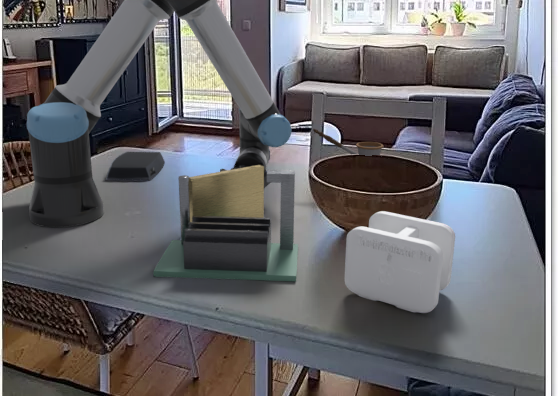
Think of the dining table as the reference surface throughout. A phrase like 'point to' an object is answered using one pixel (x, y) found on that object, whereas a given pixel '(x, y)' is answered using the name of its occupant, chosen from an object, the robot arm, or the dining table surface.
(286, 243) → the grey slotted rack
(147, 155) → the external hard drive
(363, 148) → the coffee pot
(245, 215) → the brass plate
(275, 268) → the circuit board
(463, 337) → the dining table surface
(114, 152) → the dining table surface
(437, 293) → the cable organizer
